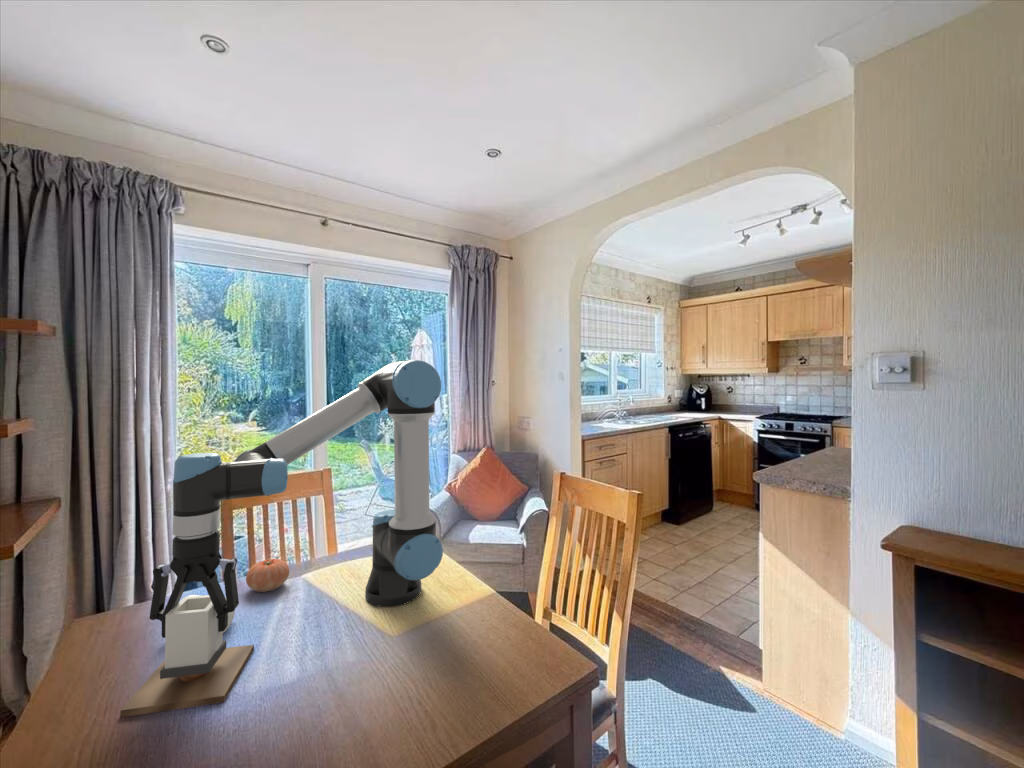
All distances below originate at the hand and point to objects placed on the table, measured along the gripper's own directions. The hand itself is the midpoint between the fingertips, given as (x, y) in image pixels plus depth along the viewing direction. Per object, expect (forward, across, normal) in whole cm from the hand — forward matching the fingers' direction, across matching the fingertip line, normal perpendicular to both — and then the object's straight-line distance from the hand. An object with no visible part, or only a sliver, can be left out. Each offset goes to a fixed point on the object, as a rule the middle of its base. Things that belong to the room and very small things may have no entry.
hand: (195, 649), depth 85 cm
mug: (+6, +5, -20) cm, 22 cm away
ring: (+3, 0, 0) cm, 3 cm away
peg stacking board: (+6, 0, 0) cm, 6 cm away
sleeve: (+1, 0, 0) cm, 1 cm away
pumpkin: (+6, -2, -39) cm, 40 cm away
